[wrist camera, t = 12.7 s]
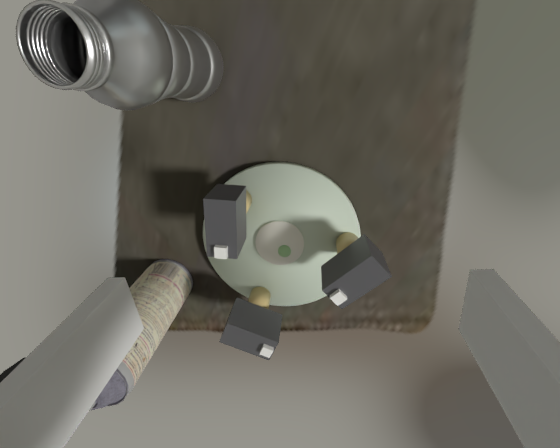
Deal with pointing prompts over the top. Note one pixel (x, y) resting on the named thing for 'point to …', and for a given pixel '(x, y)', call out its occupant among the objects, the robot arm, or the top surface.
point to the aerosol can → (148, 323)
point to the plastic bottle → (117, 52)
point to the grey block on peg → (353, 269)
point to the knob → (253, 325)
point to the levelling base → (287, 232)
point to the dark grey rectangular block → (226, 220)
